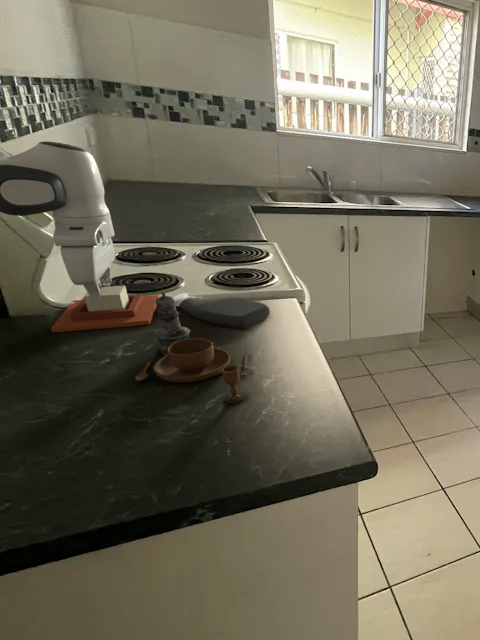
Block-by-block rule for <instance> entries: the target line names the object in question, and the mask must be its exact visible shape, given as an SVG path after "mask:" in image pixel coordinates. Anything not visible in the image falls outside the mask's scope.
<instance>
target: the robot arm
mask: <svg viewBox="0 0 480 640" xmlns="http://www.w3.org/2000/svg"><path fill="white" fill-rule="evenodd" d="M103 183H104V182H103V179H102V176H101V172H100V170H99V166H98V164H97V162H96V160H95V158H94V156H93V155H92V154H91V153H90V152H89V151H87V150H85V149H84V148H82V147H79V146H77V145H72V144H67V143H62V142H56V141H48V140H47V141H40V142H37V144H36V145H34V146H32V147H30V148H29V149H27V150H25V151H22V152H21V153H20V152H19V153H18V154H15V155H13V154H11V153H9V152H7V151H6V150H4V149H3V148H2V147H0V213H1V214H5V215H8V216H14V217H26V216H31V215H33V216H34V215H38V214H44V213H49V212H51V214H52V218H53V221H54V228H55V229H54V230H53V234H52V239H53V243H54V245H55V246H56V247H60V255H61V258H62V261H63V264H64V267H65V269H66V272H67V274H68V277H69V279H70V281H71V282H72V283H73V285H75V286H83V288H84V289H85V290H86V293H87V292H88V293H89V297H90V299H91V300H100V299H101V298H102V292H101V290H100V289H99V287H100V286H99V282H100V285H101V286H102V287H108V286H111V285H112V283H113V279H112V267H111V264H113V262H114V261H115V259H116V250H115V246H114V243H113V239H112V238H113V237H114V236H115V235H116V234H115V230H114V224H113V221H112V217H111V213H110V209H109V208H108V206H107V204H106V202H105V193H106V192H105V187H104V184H103Z"/></svg>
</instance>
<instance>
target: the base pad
mask: <svg viewBox="0 0 480 640" xmlns="http://www.w3.org/2000/svg"><path fill="white" fill-rule="evenodd" d="M127 295H128V299H129V303H130V305H129V306H128V308H127V309H121V310H107V311H92V312H89V311H88V308H87V304H86V301H85V298H84V297H83V298H82V299H74V300H72V302H75V303H74V304H72V305H70V304H69V305H68V307H66V309H65V310H64V311H63V313H62V314H61V315H60V316H59V318H58V319H57V320H56V321H55V323H53V324H52V326H51V327H50V329H51V332H52V333H64V332H74V331H76V332H77V331H88V330H100V329H111V328H112V329H113V328H123V327H126V328H127V327H135V326H149V325H150V324H151V322H152V319H153V317H154V314H155V311H156V309H157V305H156V300H157V298H159V297H160V295H143V294H142V293H137V294H136V293H135V294H127Z"/></svg>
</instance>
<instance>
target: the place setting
mask: <svg viewBox="0 0 480 640" xmlns="http://www.w3.org/2000/svg"><path fill="white" fill-rule="evenodd" d="M167 351H168V355H164V356H162V357H160V358H159V359H158V360H157V361H156V362H155V363H154V364H153V371H154V373H155V375H156V376H157V377H159V378H160V379H161V380H164V381H167V382H170V383H176V384H177V383H179V384H181V383H182V384H185V383H196V382H201V381H205V380H208V379H210V378H211V379H212V378H213V377H215V376H218V375H219V374H222V378H223V381H224V383H225V384H226V385H229V387H230V391H229V392H230V395H228V396H227V397H226V398H225V402H226V403H228V404H237V403H240V402H243V401H244V400H245V399H246V397H245V395H244V394H243V393H238V388H237V384H238V383H239V381H240V379H241V377H242V376H245V375H247V376H249V375H250V371H249V369H248V354H245V355H244V360H243V361H244V363H243V370H242V371H241V373H240V369H239V366H238V365H235V364H231V360H232V358H231V357H232V356H231V354H230V352H228V351H227V350H226V349H223V348H219V347H214V344H213V342H212V341H211V340H210V339H207V338H202V337H201V338H200V337H193V338H188V339H185V340H181V341H178V342H175V343H173V344H171V345H170V346H169V347H168V348H167ZM151 364H152V361H151V360H149V361H147V362H146V364H145V366H144V367H143V370H142V371H141V372H140V373H138V374H136V375H135V376H134V380H135V381H136V382H143V381H145V380H147V378H148V377H149V373H147V370H148V368H150V365H151Z"/></svg>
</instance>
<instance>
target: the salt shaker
mask: <svg viewBox="0 0 480 640" xmlns="http://www.w3.org/2000/svg"><path fill="white" fill-rule="evenodd" d="M160 294H161V296H159V298H157V300H156V305H157V307H156V309H157V314H156V318H158V319H159V323H160V329H159V330H157V331H155V332H154V333H153V337H154V338H155V339H156V341H157V342H158V343H159V345H161V347H160V348H159V354H161V355H164V356H166V355H168V351H167V348H168V347H169V346H170V345H171V344H173V343H175V342H178V341H181V340H185V339H189V336H190V333H191V329H189V328H188V327H186V326H182V325H181V322H180V319H179V316H180V312H179V311H178V310H177V308H176V307H177V306H175V302H174V299H173V298H172V297H173V296H169V295H166V293H165V292H164V291H162V293H160Z"/></svg>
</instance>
